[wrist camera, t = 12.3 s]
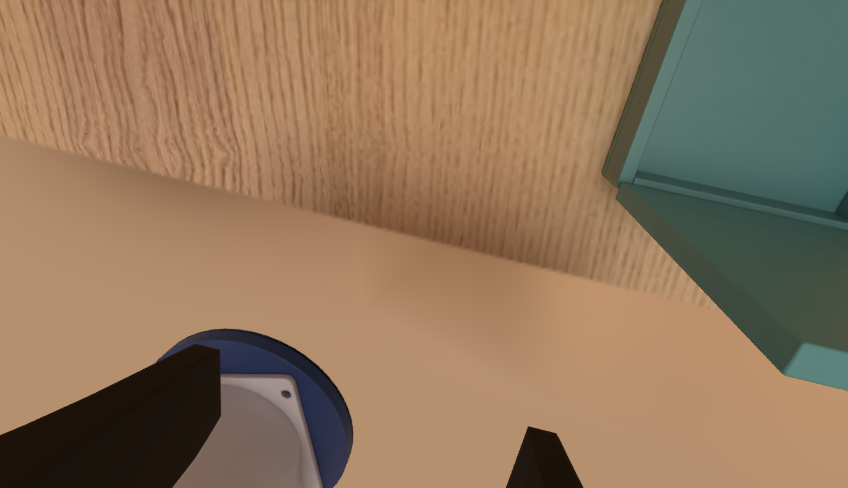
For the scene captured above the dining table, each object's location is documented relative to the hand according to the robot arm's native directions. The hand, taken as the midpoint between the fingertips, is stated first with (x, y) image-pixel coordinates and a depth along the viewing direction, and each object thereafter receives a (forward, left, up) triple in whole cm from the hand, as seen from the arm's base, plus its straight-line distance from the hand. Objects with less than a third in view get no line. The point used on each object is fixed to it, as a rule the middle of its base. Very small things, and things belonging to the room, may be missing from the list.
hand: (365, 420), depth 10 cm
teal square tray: (+6, -13, -10) cm, 17 cm away
